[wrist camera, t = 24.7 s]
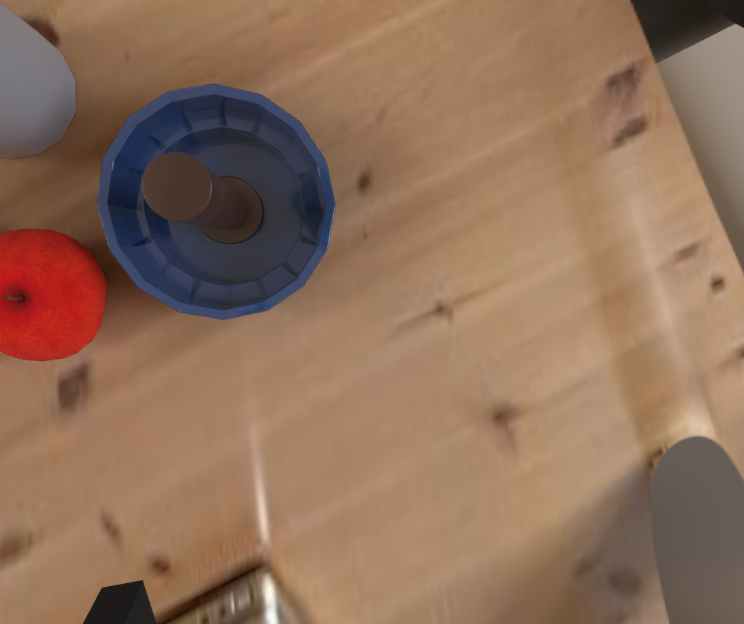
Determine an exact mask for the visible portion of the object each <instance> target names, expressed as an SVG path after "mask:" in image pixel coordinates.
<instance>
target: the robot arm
mask: <svg viewBox="0 0 744 624" xmlns="http://www.w3.org/2000/svg"><path fill="white" fill-rule="evenodd" d="M83 624H156V621H155V618H154V615H153V611H152V608H151V605H150V602H149V599H148V596H147V592H146V589H145V586H144V583H143V580H141V581H136V582H131V583H125V584H120V585H114V586H109V587H103V588H102V589H101V591H100V593H99V594H98V596H97V598H96V600H95V602H94V604H93V606H92V608H91V609H90V611H89V613H88V615H87V617H86V619H85V621H84V623H83Z"/></svg>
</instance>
